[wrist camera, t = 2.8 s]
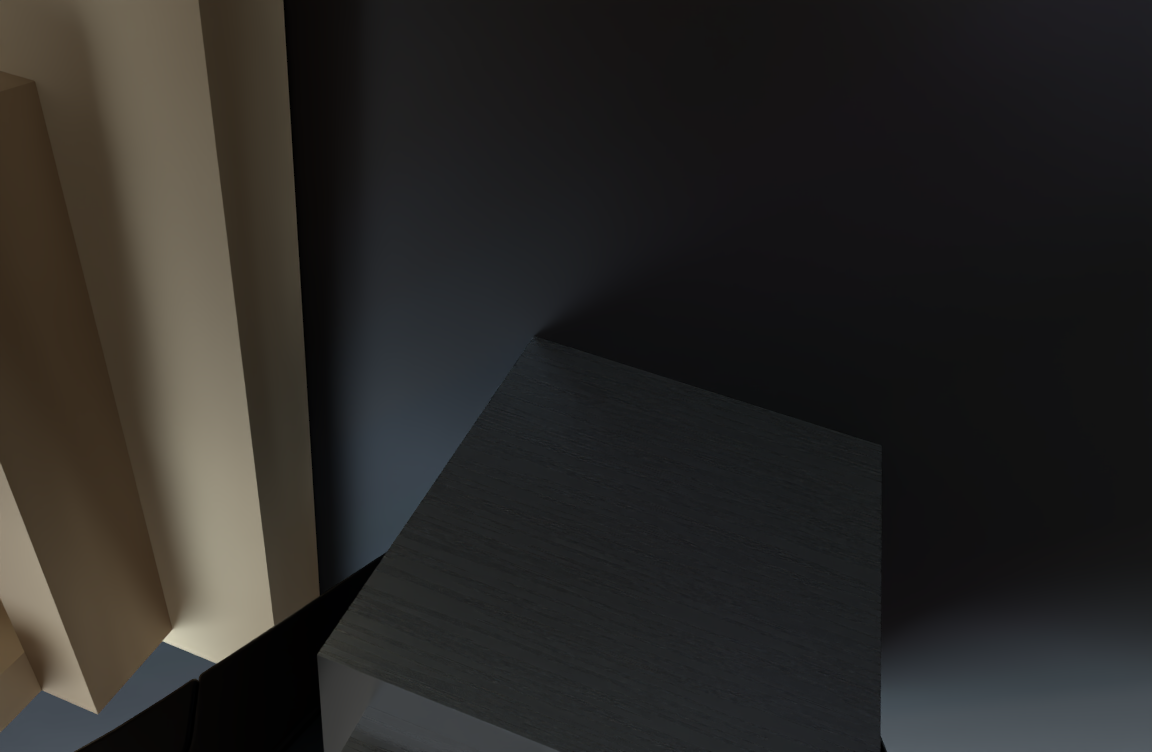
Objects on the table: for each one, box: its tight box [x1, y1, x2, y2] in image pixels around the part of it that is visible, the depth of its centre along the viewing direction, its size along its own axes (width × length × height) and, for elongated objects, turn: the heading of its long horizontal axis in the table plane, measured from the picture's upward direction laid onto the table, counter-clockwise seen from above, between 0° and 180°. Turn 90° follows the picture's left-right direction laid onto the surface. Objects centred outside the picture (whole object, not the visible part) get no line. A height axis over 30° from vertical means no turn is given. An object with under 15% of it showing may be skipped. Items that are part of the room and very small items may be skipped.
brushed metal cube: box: [317, 336, 882, 752], centre depth 8 cm, size 4×5×5 cm
